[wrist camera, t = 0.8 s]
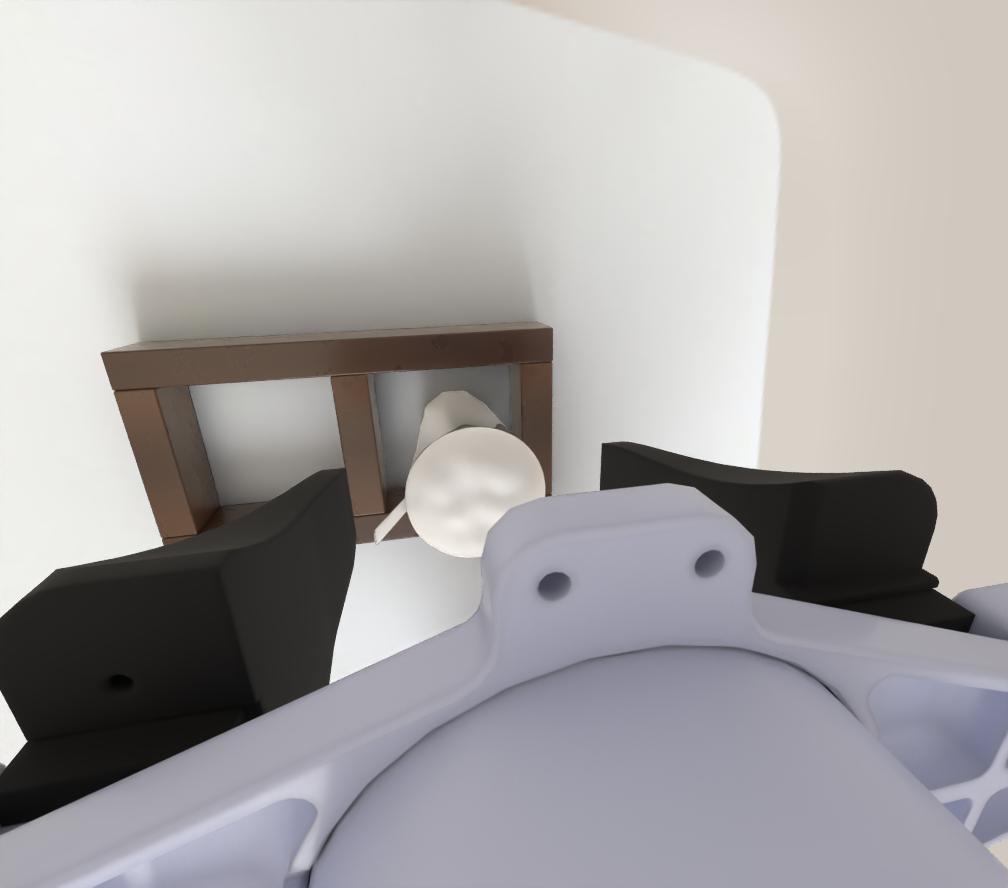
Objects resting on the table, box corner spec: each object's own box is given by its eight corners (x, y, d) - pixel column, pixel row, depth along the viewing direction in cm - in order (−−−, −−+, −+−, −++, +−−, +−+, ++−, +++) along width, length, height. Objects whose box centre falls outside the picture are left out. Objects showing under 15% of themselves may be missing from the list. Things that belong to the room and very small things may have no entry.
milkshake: (384, 379, 21) (364, 460, 12) (501, 372, 22) (565, 444, 13) (394, 471, 23) (382, 606, 14) (502, 462, 24) (561, 582, 15)
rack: (538, 496, 25) (552, 520, 22) (196, 536, 22) (170, 568, 20) (537, 321, 22) (553, 327, 19) (138, 342, 19) (99, 352, 17)
